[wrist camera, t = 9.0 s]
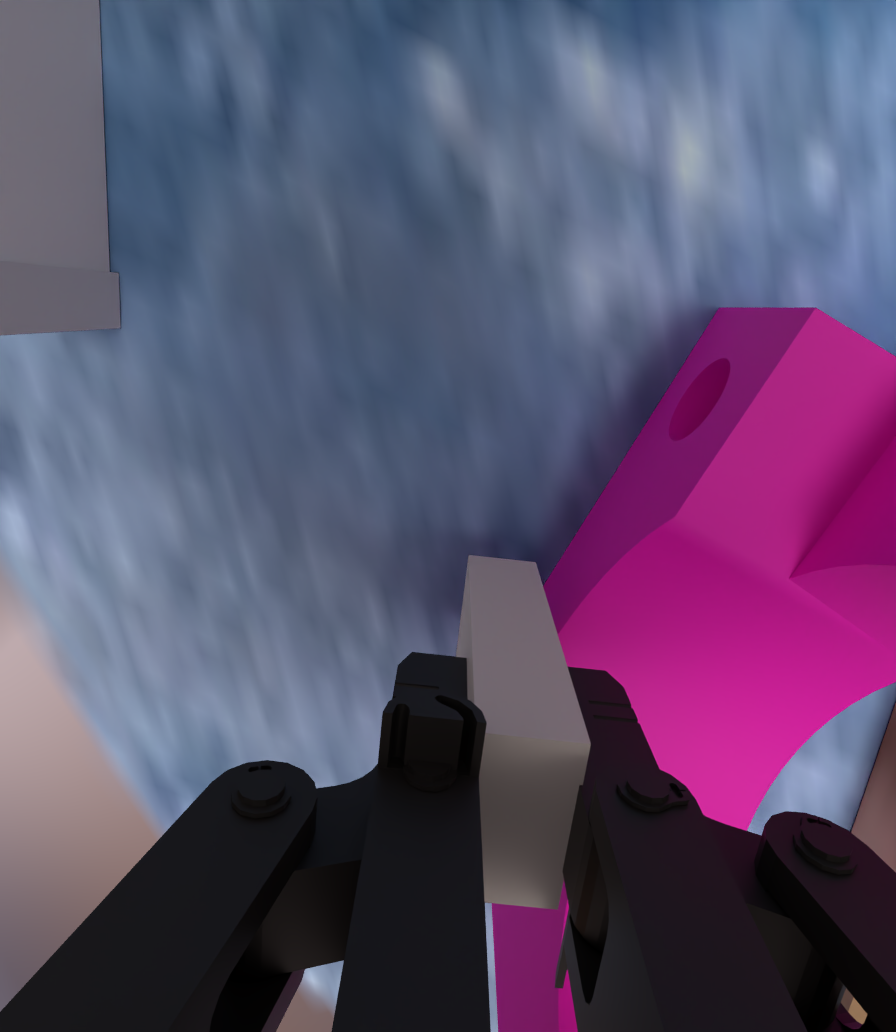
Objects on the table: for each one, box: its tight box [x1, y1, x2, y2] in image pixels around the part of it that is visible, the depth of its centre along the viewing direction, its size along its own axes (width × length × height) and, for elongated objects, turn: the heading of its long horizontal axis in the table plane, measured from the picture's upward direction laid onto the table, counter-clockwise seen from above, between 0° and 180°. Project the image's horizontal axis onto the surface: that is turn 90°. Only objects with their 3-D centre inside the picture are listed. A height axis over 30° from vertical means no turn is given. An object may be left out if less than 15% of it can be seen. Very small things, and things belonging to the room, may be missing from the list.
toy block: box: [492, 308, 896, 1032], centre depth 14 cm, size 15×6×8 cm, turn 152°
